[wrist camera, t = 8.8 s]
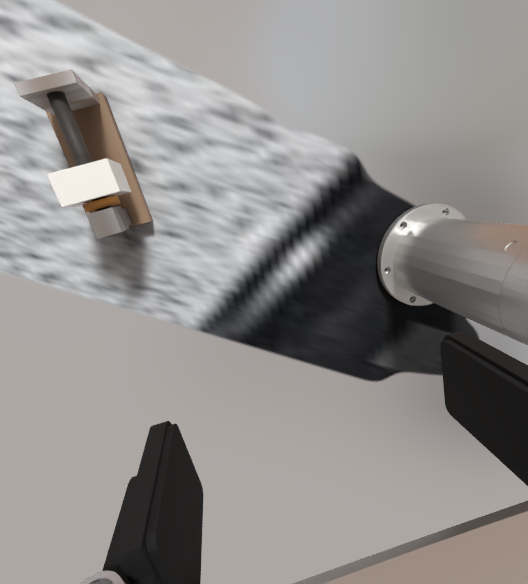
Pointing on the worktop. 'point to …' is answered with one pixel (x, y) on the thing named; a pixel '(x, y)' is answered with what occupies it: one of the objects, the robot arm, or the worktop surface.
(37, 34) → the worktop surface
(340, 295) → the worktop surface
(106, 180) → the sleeve
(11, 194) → the worktop surface
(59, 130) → the wooden stand
